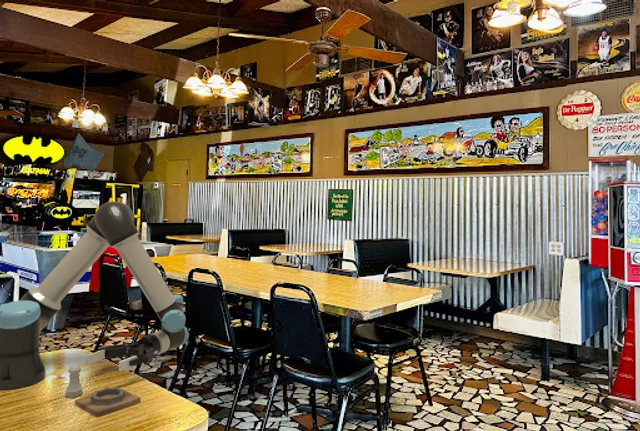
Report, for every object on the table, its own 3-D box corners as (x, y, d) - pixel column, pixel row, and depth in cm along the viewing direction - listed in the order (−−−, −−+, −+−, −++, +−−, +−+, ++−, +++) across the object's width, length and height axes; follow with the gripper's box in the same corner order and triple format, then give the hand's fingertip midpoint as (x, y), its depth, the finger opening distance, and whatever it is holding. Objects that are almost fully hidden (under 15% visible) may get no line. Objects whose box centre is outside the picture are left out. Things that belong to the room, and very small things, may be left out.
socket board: (75, 404, 123) (75, 394, 123) (117, 391, 133) (117, 381, 133) (97, 417, 116) (97, 406, 116) (140, 402, 126) (140, 392, 126)
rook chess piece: (75, 398, 127) (75, 370, 127) (61, 396, 128) (62, 368, 128) (86, 392, 132) (86, 365, 132) (73, 390, 133) (73, 363, 132)
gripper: (181, 360, 154) (133, 381, 134) (125, 350, 163) (73, 369, 144) (181, 338, 154) (134, 356, 134) (126, 330, 163) (73, 345, 144)
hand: (102, 363), depth 139 cm, fingers open, 13 cm apart
